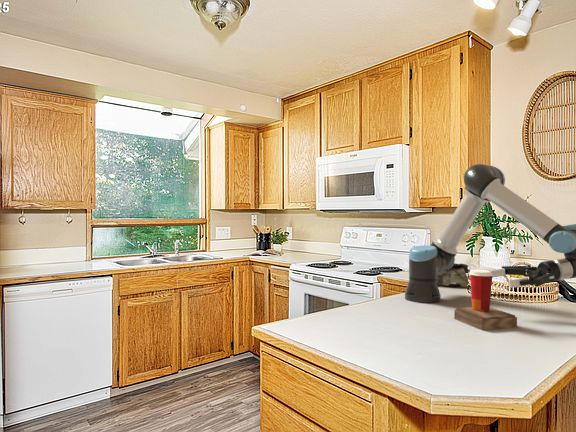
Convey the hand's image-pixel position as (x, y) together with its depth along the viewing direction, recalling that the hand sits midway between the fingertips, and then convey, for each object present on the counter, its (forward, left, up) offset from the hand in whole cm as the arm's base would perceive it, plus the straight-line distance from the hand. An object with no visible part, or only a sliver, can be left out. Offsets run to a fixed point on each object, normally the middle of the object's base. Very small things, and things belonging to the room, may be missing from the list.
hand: (498, 278), depth 145 cm
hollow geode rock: (-13, +65, -15) cm, 68 cm away
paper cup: (-7, -5, -11) cm, 14 cm away
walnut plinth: (-6, -7, -15) cm, 17 cm away
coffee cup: (+5, +48, -15) cm, 50 cm away
